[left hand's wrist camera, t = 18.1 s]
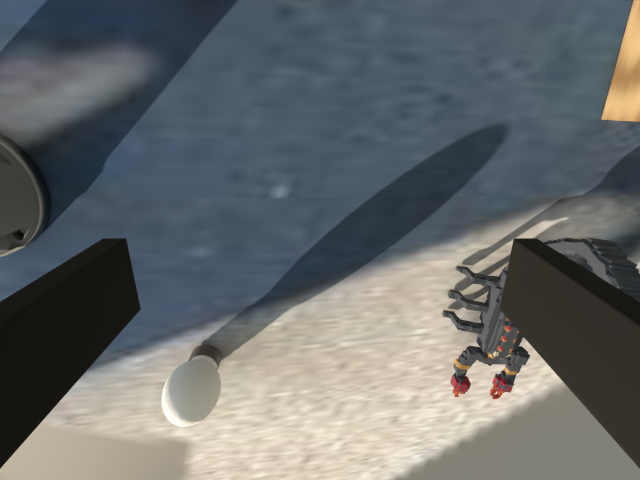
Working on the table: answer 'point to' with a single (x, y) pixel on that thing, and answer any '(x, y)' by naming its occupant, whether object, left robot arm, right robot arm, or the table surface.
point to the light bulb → (193, 388)
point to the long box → (626, 74)
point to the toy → (502, 335)
